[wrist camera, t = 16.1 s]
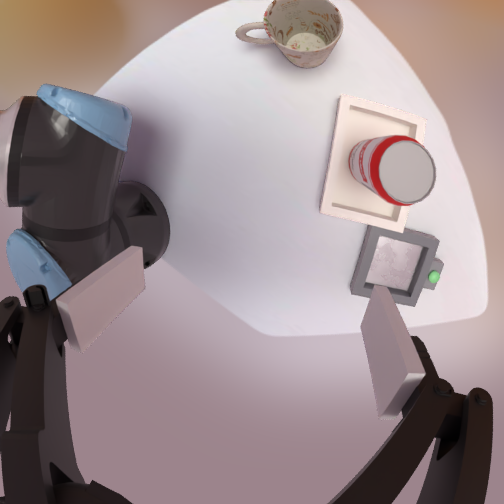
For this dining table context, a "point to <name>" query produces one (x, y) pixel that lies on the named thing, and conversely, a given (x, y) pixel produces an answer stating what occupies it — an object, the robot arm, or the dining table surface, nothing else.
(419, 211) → the dining table surface
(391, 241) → the plate
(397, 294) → the frame
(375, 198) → the cream rectangular tray
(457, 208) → the dining table surface
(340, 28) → the mug
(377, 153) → the beer can
